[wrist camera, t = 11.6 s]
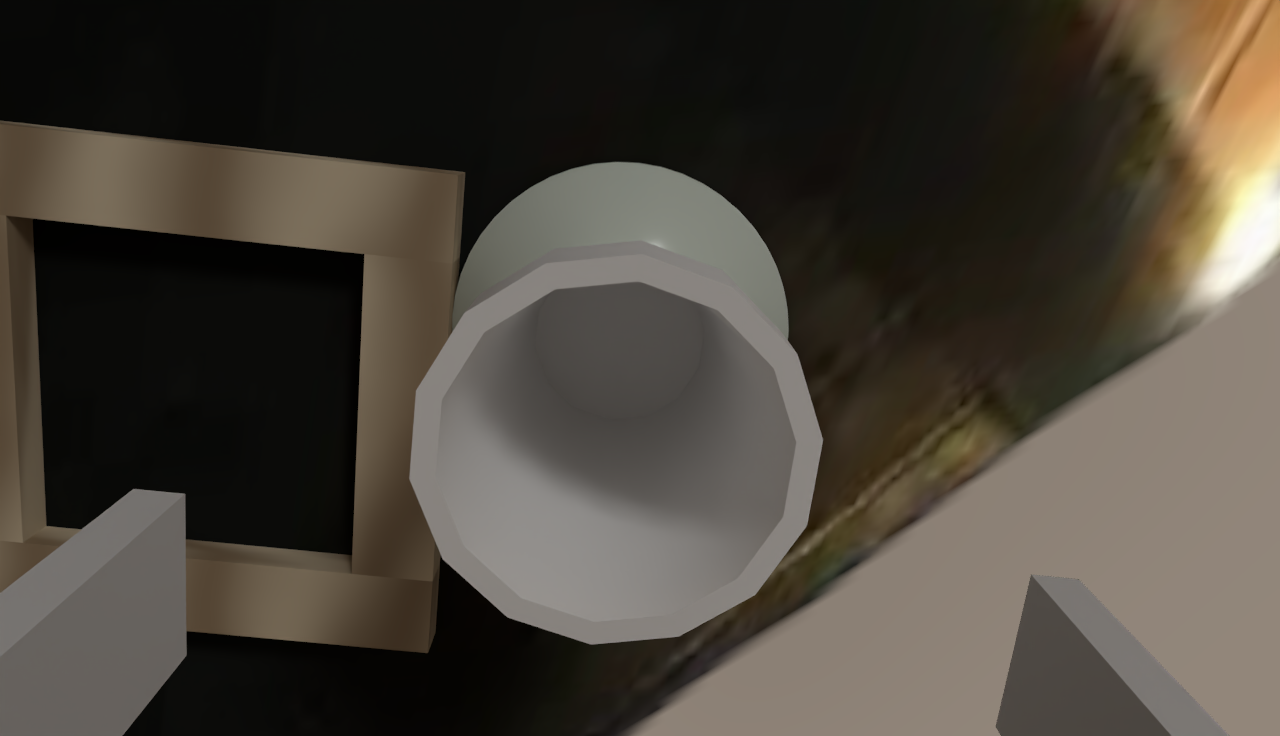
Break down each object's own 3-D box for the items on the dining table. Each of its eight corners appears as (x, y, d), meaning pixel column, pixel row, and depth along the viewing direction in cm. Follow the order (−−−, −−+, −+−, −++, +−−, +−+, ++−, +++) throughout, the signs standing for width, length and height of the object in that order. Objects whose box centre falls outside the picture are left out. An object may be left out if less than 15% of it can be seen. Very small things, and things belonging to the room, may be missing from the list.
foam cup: (792, 259, 34) (887, 344, 22) (697, 491, 36) (733, 690, 24) (535, 163, 33) (480, 193, 21) (453, 407, 36) (357, 568, 23)
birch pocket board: (-30, 589, 38) (-56, 608, 37) (-61, 113, 34) (-93, 114, 32) (435, 632, 39) (428, 653, 37) (465, 172, 34) (457, 174, 33)
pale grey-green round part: (446, 467, 37) (442, 474, 36) (466, 143, 34) (463, 143, 33) (760, 498, 37) (763, 506, 37) (808, 181, 34) (812, 183, 34)
